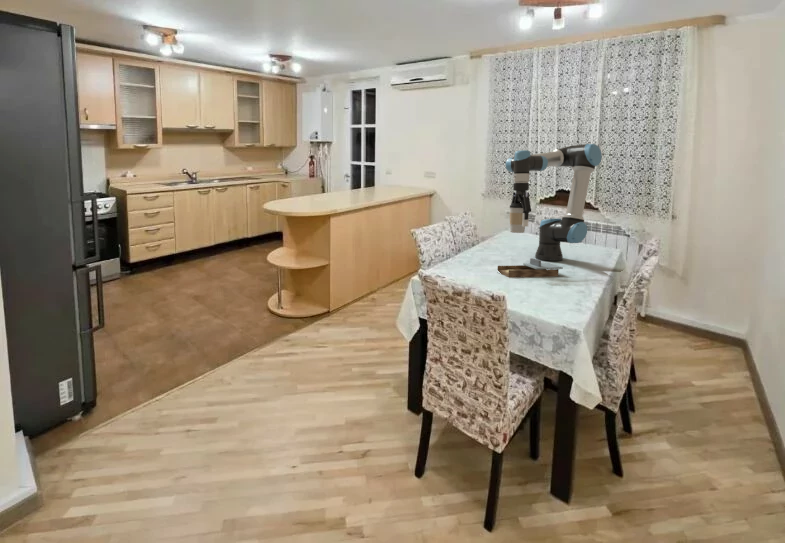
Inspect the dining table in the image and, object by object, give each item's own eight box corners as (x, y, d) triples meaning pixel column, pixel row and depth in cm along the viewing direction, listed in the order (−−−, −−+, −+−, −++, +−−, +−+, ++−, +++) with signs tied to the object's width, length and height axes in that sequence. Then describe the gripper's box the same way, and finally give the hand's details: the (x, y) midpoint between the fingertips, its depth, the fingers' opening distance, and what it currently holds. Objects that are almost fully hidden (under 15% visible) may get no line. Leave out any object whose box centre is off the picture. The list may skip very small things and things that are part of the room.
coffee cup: (505, 231, 248) (507, 202, 245) (522, 231, 249) (524, 202, 246) (511, 233, 239) (513, 202, 236) (529, 233, 240) (530, 202, 237)
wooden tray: (543, 271, 256) (544, 265, 255) (558, 276, 240) (558, 269, 240) (497, 272, 252) (497, 265, 251) (508, 277, 236) (509, 270, 236)
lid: (548, 264, 255) (548, 257, 255) (562, 268, 240) (563, 261, 240) (523, 264, 253) (523, 257, 253) (536, 269, 238) (536, 261, 237)
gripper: (504, 183, 249) (503, 223, 253) (524, 182, 225) (522, 227, 229) (518, 183, 251) (516, 223, 254) (539, 182, 226) (537, 227, 230)
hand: (519, 225), depth 241 cm, fingers open, 13 cm apart
